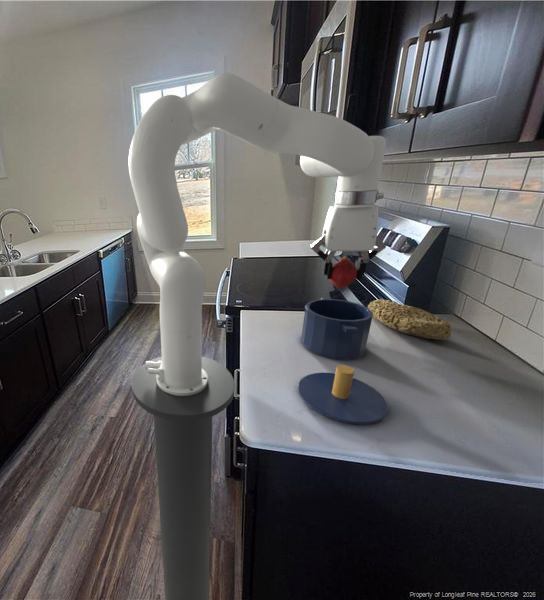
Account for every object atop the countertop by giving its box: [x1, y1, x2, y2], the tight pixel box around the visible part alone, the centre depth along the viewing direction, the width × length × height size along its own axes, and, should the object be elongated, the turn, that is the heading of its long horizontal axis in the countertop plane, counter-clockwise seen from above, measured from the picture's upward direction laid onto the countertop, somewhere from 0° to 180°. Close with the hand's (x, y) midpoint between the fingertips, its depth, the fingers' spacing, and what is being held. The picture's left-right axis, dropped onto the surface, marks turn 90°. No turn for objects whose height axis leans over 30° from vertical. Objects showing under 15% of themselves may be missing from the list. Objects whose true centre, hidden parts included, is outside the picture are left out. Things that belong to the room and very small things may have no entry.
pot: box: [300, 297, 373, 361], centre depth 83 cm, size 15×20×10 cm
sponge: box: [367, 298, 452, 341], centre depth 89 cm, size 13×8×20 cm
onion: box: [329, 255, 357, 290], centre depth 75 cm, size 6×6×8 cm
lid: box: [297, 364, 389, 425], centre depth 64 cm, size 16×16×7 cm
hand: (341, 277), depth 76 cm, fingers closed on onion, 5 cm apart
